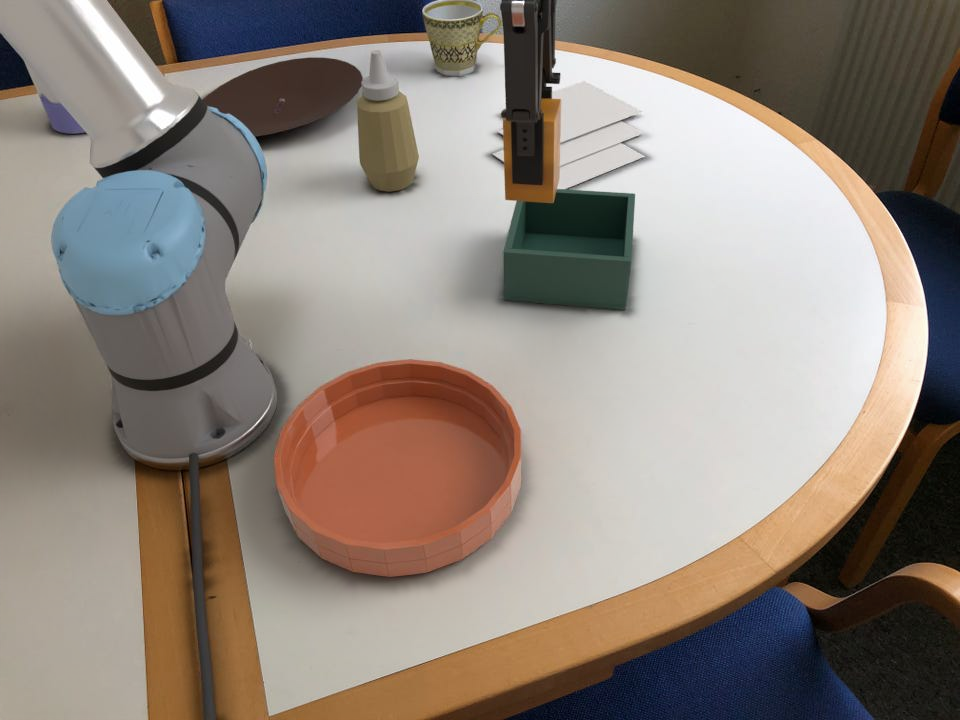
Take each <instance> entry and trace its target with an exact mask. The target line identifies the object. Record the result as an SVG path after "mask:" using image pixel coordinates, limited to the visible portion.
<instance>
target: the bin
mask: <svg viewBox="0 0 960 720" xmlns="http://www.w3.org/2000/svg"><path fill="white" fill-rule="evenodd" d="M635 205H636V193H632V192H615V191H613V192H612V191H597V190H583V189H582V190H581V189H580V190H579V189H557V191H556V195H555V198H554V202H553V203H542V202H527V201H515V205H514V209H513V213H512V217H511V221H510V224H509V228H508V232H507V236H506V240H505V244H504V248H503V251H502V261H503V262H502V266H503V267H502V270H503V301H509V302H511V301H512V302H521V303H523V302H524V303H537V304H548V305H558V306H571V307H581V308H582V307H583V308H595V309H596V308H597V309H609V310H621V311H626V310H627V303H628V295H629V285H630V277H631V269H632V257H633V242H634V241H633V240H634V223H635V208H636V206H635Z"/></svg>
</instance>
